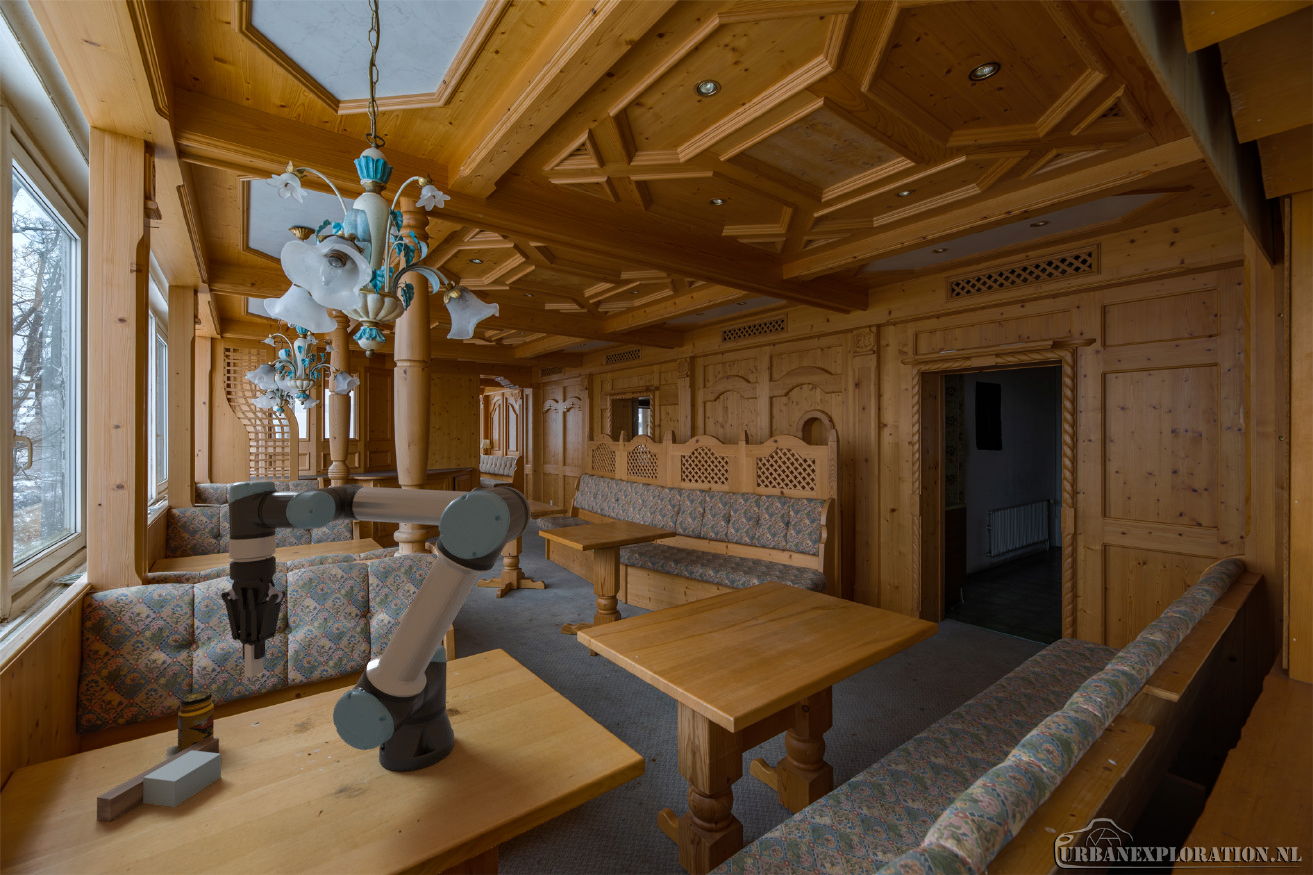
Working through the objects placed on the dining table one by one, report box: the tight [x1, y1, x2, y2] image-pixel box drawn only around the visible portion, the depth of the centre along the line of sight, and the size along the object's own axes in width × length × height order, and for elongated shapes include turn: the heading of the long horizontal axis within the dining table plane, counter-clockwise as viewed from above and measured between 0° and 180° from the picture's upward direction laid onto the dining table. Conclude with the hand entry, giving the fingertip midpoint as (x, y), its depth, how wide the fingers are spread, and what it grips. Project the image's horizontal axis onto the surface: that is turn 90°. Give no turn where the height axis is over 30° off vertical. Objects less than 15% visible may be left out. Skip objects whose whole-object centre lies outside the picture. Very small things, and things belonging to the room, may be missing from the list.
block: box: [142, 750, 222, 808], centre depth 106 cm, size 7×9×5 cm
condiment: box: [162, 690, 218, 762], centre depth 119 cm, size 7×8×12 cm
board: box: [96, 737, 220, 823], centre depth 107 cm, size 3×20×4 cm, turn 170°
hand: (254, 674), depth 109 cm, fingers closed
